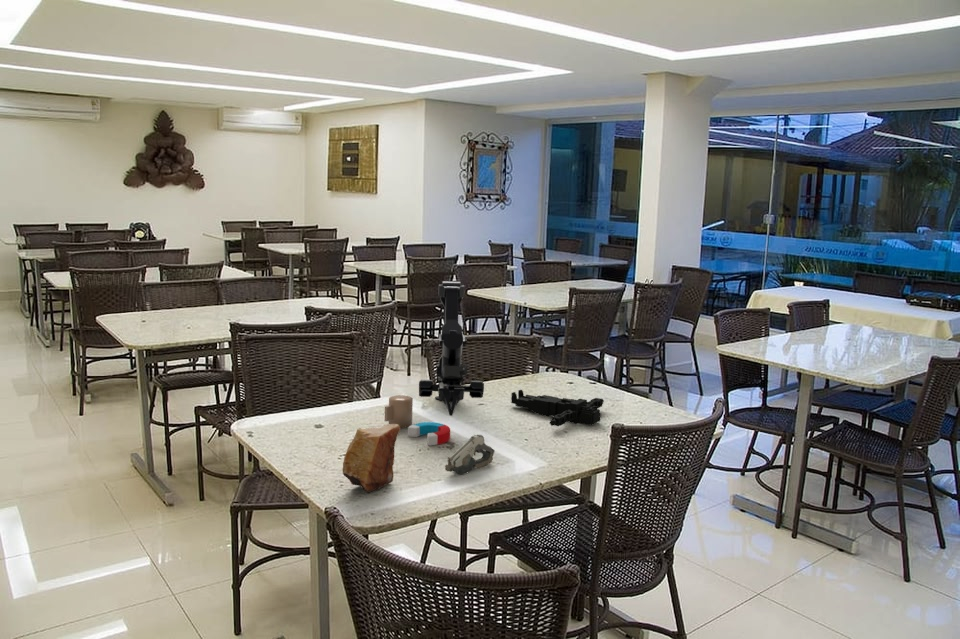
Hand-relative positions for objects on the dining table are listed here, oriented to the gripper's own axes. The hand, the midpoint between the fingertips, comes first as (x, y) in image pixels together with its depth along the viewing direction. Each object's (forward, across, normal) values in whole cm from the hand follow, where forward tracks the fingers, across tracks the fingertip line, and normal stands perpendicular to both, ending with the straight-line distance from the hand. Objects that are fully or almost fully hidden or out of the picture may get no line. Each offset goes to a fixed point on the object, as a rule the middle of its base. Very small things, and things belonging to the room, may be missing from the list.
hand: (451, 415), depth 207 cm
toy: (-11, +34, +21) cm, 41 cm away
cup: (-2, -16, +12) cm, 20 cm away
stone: (+30, -19, -20) cm, 41 cm away
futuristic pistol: (+22, +4, -12) cm, 25 cm away
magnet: (+2, -1, +6) cm, 6 cm away
